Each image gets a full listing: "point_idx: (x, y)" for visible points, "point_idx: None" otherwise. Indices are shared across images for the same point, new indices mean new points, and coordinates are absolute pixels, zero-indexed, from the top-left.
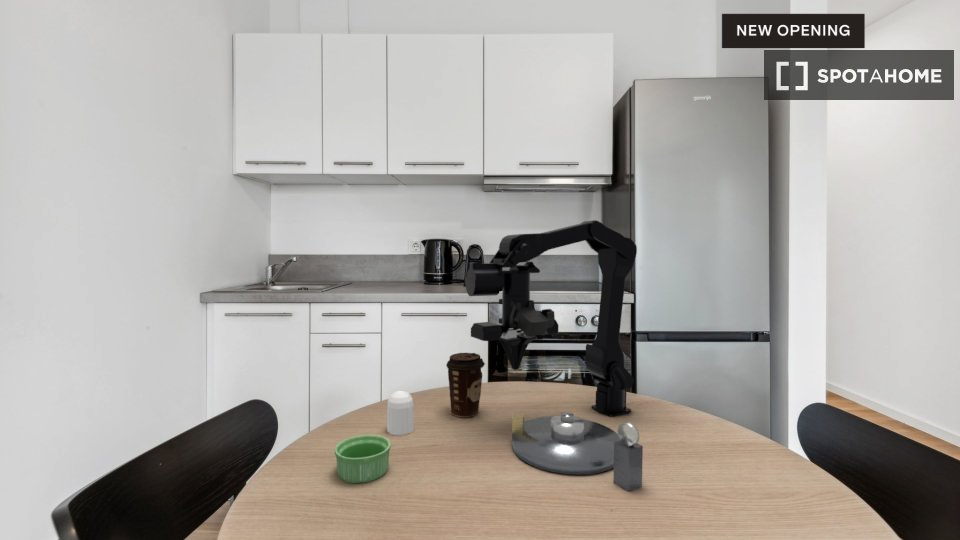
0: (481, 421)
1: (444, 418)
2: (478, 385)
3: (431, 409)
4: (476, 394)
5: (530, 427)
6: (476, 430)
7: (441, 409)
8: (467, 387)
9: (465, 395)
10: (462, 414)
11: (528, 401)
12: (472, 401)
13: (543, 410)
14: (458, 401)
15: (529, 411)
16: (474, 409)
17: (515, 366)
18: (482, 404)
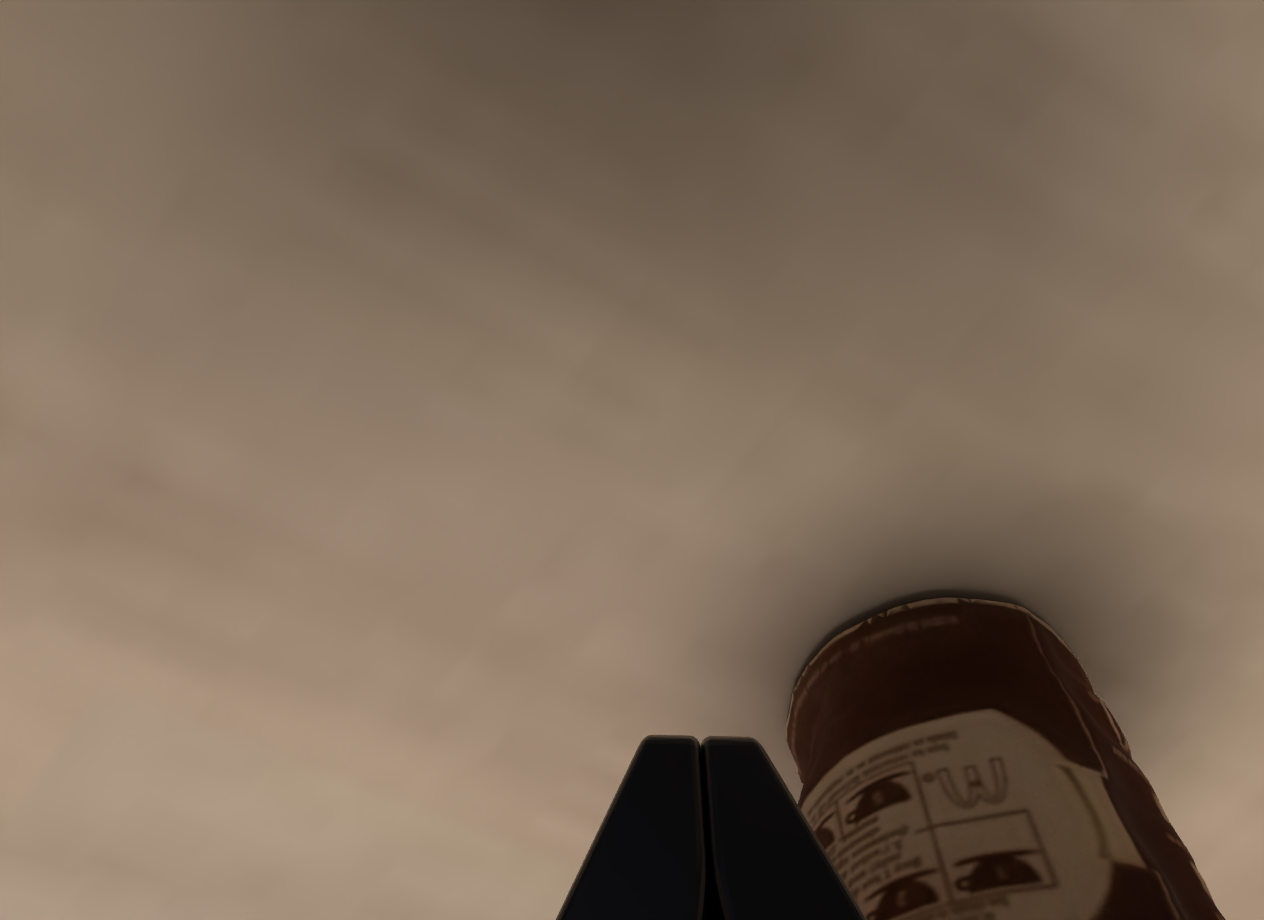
0: (942, 461)
1: (1194, 682)
2: (951, 883)
3: None
4: (953, 782)
5: None
6: (1175, 287)
7: None
8: (1149, 881)
9: (1119, 800)
10: (1055, 644)
11: (119, 653)
12: (1005, 713)
13: (66, 379)
14: (1142, 775)
15: (256, 434)
16: (912, 658)
17: (781, 799)
18: None
